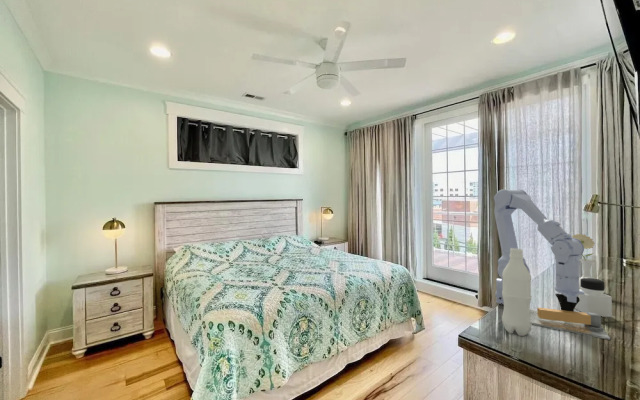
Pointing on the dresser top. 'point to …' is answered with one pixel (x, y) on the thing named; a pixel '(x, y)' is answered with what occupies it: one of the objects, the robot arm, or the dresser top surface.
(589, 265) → the flower in vase
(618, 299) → the dresser top surface
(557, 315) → the tan piece
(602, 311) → the medicine bottle
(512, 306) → the water bottle
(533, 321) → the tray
